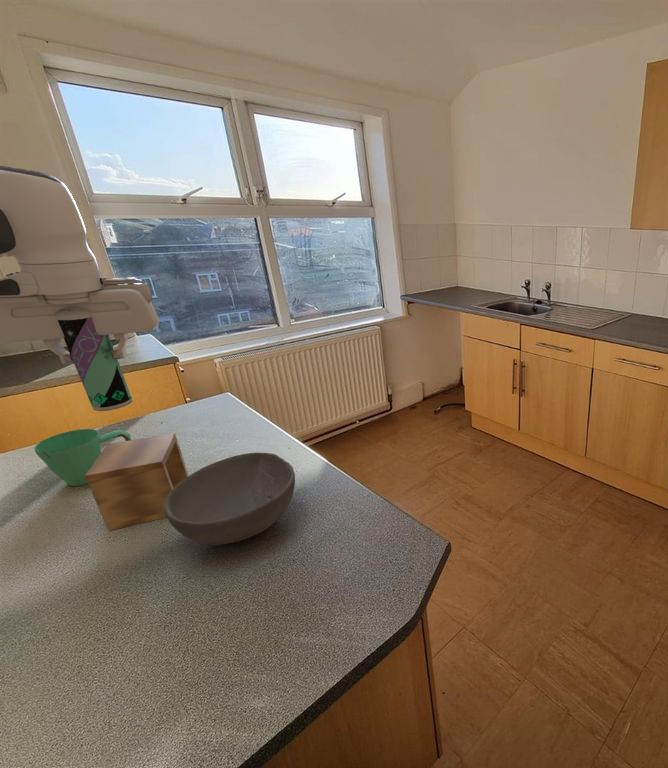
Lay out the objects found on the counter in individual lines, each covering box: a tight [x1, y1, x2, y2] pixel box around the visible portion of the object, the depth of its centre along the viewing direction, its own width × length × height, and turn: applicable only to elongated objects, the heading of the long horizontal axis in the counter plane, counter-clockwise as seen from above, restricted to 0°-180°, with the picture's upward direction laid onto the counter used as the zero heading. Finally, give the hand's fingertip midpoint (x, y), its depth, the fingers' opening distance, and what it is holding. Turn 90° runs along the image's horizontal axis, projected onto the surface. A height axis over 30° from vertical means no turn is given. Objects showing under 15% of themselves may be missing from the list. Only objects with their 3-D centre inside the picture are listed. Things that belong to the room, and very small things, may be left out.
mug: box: [33, 428, 132, 487], centre depth 94 cm, size 15×10×10 cm
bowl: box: [164, 452, 296, 546], centre depth 80 cm, size 20×20×10 cm
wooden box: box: [85, 432, 189, 531], centre depth 85 cm, size 11×12×12 cm
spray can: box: [55, 306, 133, 412], centre depth 74 cm, size 6×6×20 cm
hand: (95, 360), depth 74 cm, fingers closed on spray can, 5 cm apart
